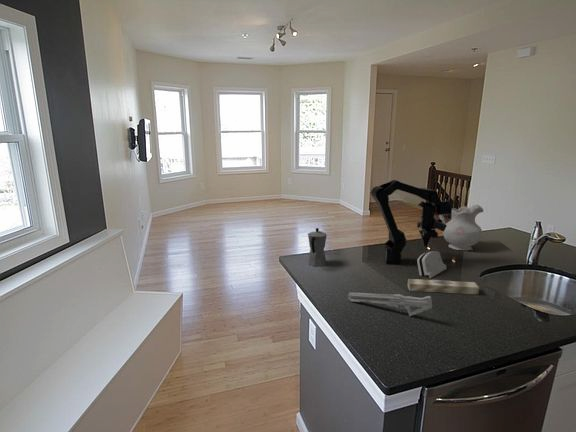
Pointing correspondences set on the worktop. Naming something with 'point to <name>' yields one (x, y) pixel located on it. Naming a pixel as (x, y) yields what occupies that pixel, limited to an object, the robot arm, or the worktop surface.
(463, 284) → the beige wooden bar
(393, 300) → the gun
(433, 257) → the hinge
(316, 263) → the coffeepot
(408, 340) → the worktop surface
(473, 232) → the ceramic pitcher
